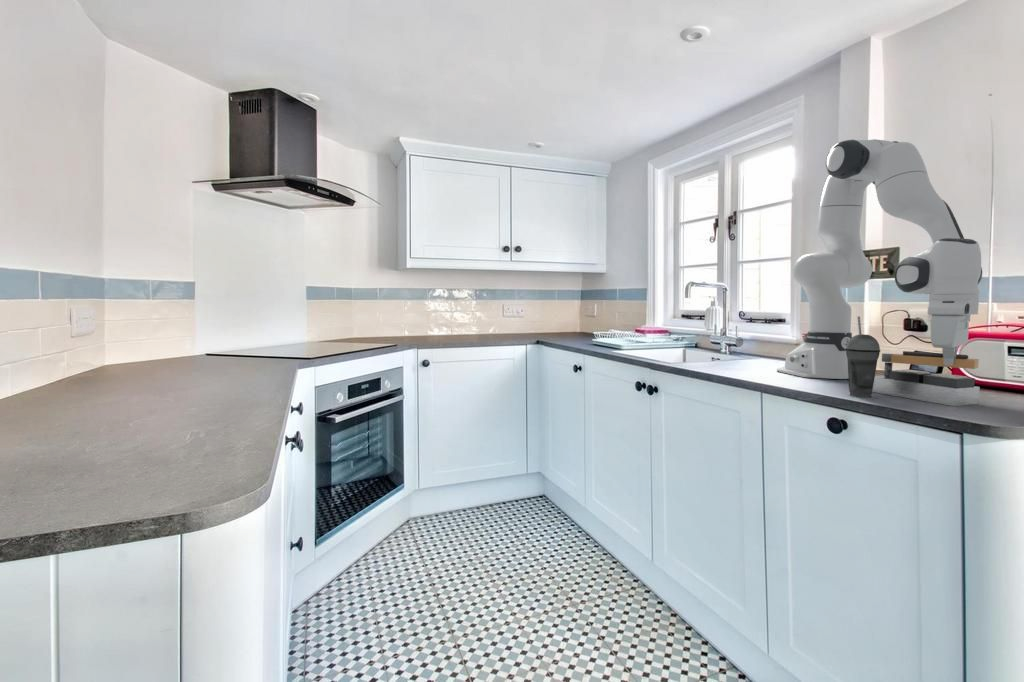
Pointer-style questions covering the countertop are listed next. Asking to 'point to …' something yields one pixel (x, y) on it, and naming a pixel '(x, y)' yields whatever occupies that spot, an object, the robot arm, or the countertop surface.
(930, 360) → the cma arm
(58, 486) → the countertop surface
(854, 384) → the beverage cup
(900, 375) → the stacked block stand
